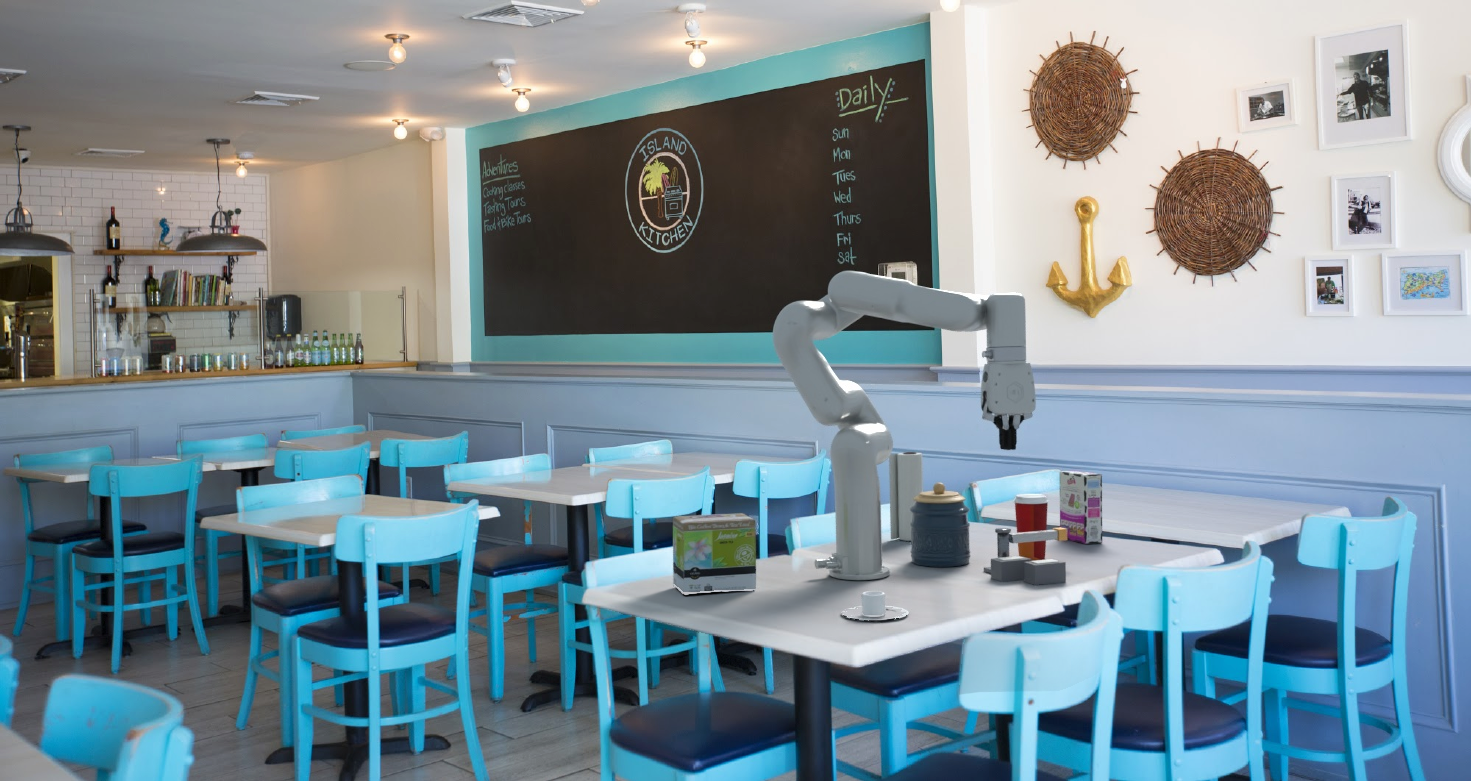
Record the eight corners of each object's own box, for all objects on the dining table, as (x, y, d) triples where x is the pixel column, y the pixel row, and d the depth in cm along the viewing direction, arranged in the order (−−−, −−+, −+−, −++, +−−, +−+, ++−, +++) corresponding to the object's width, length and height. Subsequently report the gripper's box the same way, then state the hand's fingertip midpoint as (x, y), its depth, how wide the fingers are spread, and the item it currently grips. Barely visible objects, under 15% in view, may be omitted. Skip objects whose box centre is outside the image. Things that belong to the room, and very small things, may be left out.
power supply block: (1035, 585, 236) (1035, 564, 236) (1024, 581, 240) (1024, 560, 240) (1065, 582, 238) (1065, 561, 238) (1054, 578, 242) (1053, 557, 242)
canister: (899, 561, 266) (897, 482, 265) (946, 555, 272) (944, 477, 271) (934, 570, 254) (933, 487, 254) (982, 563, 260) (981, 483, 259)
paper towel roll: (927, 538, 295) (926, 451, 294) (917, 542, 289) (916, 454, 289) (900, 536, 298) (899, 451, 297) (890, 540, 293) (888, 453, 292)
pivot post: (999, 576, 246) (998, 532, 246) (983, 571, 252) (982, 528, 251) (1024, 573, 248) (1023, 530, 248) (1008, 568, 254) (1007, 526, 253)
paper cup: (1046, 555, 268) (1046, 492, 268) (1052, 561, 261) (1051, 497, 260) (1011, 555, 269) (1010, 493, 268) (1016, 561, 261) (1015, 497, 261)
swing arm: (1013, 545, 249) (1013, 533, 249) (1007, 543, 251) (1007, 531, 251) (1067, 540, 253) (1067, 528, 253) (1060, 538, 256) (1060, 527, 255)
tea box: (684, 597, 234) (682, 522, 233) (673, 587, 243) (670, 515, 243) (757, 591, 238) (756, 517, 237) (744, 582, 247) (742, 511, 247)
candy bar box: (1104, 543, 281) (1103, 473, 281) (1085, 544, 280) (1084, 475, 279) (1076, 536, 292) (1076, 469, 291) (1059, 537, 291) (1058, 470, 290)
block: (1001, 581, 240) (1001, 560, 240) (991, 578, 244) (990, 557, 244) (1031, 578, 243) (1031, 558, 243) (1020, 575, 247) (1020, 554, 246)
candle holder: (905, 608, 220) (904, 585, 220) (912, 623, 208) (911, 599, 208) (839, 610, 221) (839, 586, 221) (843, 625, 209) (842, 600, 209)
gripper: (983, 357, 229) (984, 453, 229) (1050, 355, 234) (1051, 448, 234) (963, 357, 236) (964, 450, 237) (1028, 355, 241) (1030, 446, 241)
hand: (1008, 449), depth 235 cm, fingers closed
